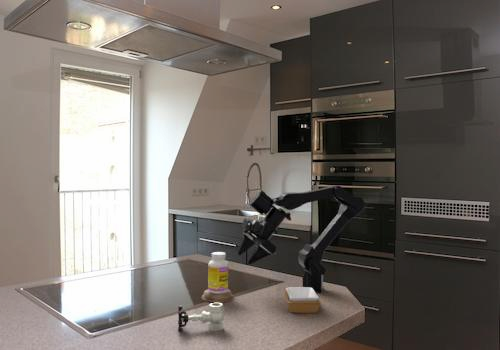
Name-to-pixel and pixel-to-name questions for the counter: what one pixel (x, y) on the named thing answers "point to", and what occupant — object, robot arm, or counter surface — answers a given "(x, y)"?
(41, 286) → the counter surface
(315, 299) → the soap dish
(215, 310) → the valve
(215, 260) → the supplement bottle
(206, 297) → the beige saucer
